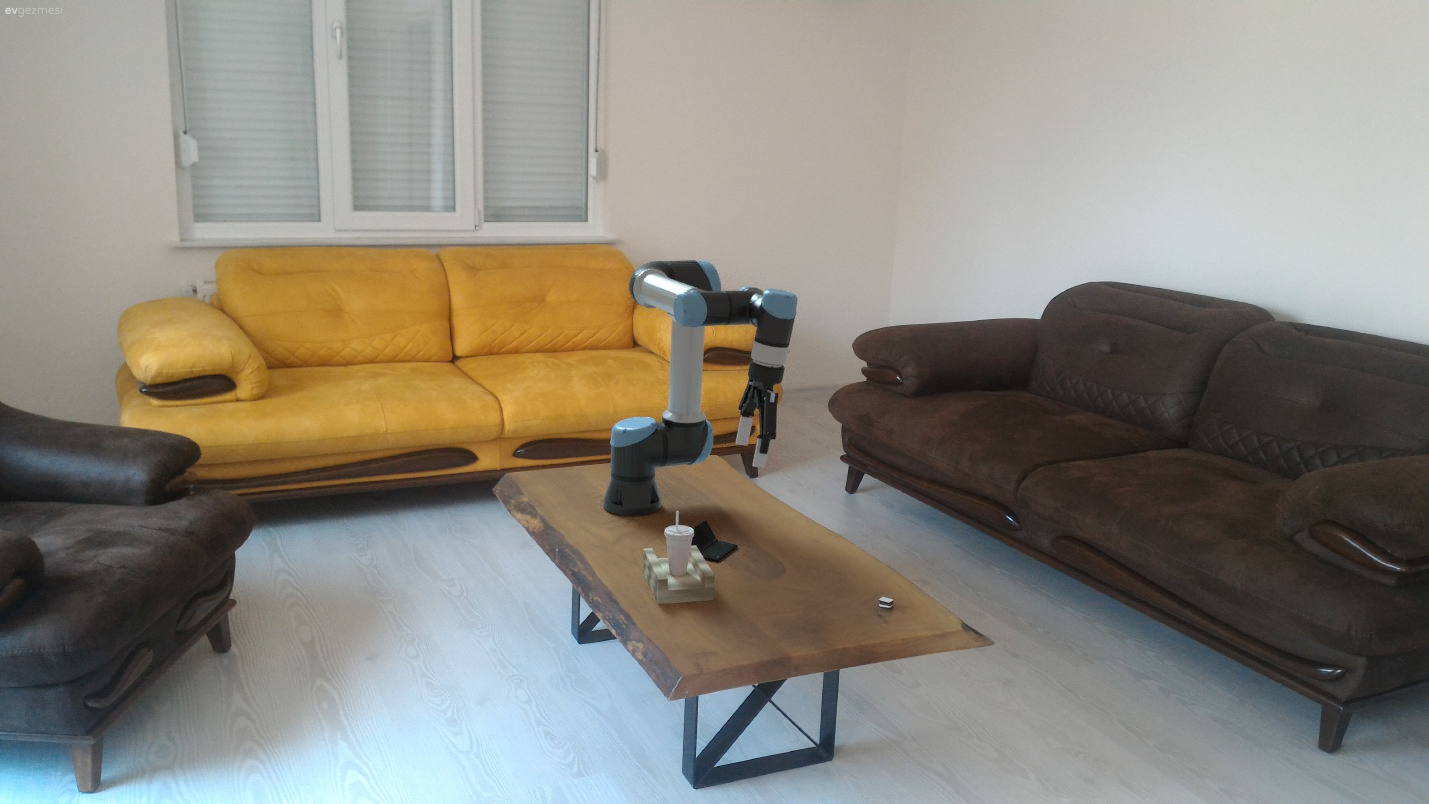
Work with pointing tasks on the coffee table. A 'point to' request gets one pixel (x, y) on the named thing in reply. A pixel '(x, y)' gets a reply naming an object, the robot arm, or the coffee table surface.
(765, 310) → the robot arm
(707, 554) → the handheld gaming console
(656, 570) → the tray
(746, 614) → the coffee table surface
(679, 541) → the smoothie
